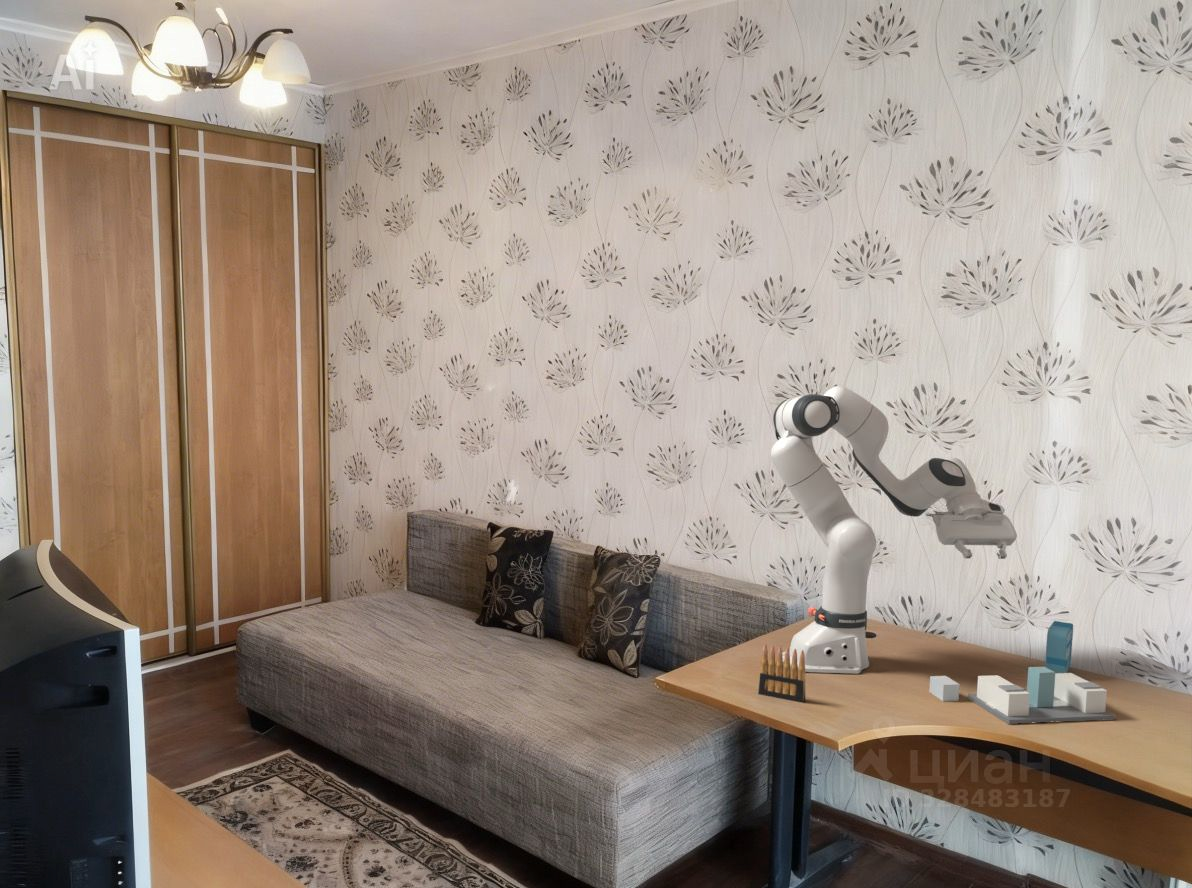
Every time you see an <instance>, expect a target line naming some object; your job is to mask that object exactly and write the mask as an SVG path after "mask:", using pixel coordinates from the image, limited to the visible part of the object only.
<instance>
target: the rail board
mask: <svg viewBox="0 0 1192 888" xmlns="http://www.w3.org/2000/svg"><path fill="white" fill-rule="evenodd" d="M967 699H968V700H970V701H971V702H973V703H974V704H976V705H978V706H979V707H980V708H983V710H985V711H987V712H988V713H990V714H992V715H993V716H995V717H996V716H997V717H996V718H998V719H1000V720H1001V721H1002V722H1004V721H1005V722H1004V723H1006V724H1007V723H1008V724H1007V725H1019V724H1018V723H1030V724H1033V723H1032V722H1051V721H1055V722H1054V723H1057V722H1056V721H1077V722H1087V721H1086V720H1100V721H1104V720H1103V719H1108V720H1107V721H1110V720H1109V719H1115V720H1116V714H1113V713H1112V712H1110V711H1108V710H1107V709H1105V712H1100V713H1084V712H1082V711H1080V710H1079V709H1077V708H1075V707H1073V706H1072V705H1070V704H1069V703H1067V702H1065V701H1063V700H1060V699H1058V698H1057V697H1055V696H1054V701H1053V707H1036V706H1034V705H1032V704H1030V703H1029V714H1028V716H1006V715H1005V714H1003V713H1002V712H1000V711H998V710H997V709H996V708H994V707H993V706H991V705H990V704H988V703H986V702H984V701H982V700H981V699H979V698H978V697H977V693H967Z"/></svg>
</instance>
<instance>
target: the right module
mask: <svg viewBox="0 0 1192 888" xmlns="http://www.w3.org/2000/svg"><path fill="white" fill-rule="evenodd" d="M1107 693H1108V690H1107V689H1105V688H1102V686H1101V685H1098V684H1097V683H1095V682H1092V681H1089V680H1086V679H1085V678H1082V677H1080V676H1078V675H1076V674H1074V673H1072V672H1067V673H1055V687H1054V696H1055V697H1057V698H1058V699H1060V700H1063V701H1065V702H1067V703H1069V704H1070V705H1072V706H1073V707H1075V708H1077V709H1079V710H1080V711H1082V712H1084V713H1100V712H1105V710H1107V709H1106V708H1107V707H1106V705H1107Z"/></svg>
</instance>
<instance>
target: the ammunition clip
mask: <svg viewBox="0 0 1192 888" xmlns="http://www.w3.org/2000/svg"><path fill="white" fill-rule="evenodd" d="M768 651H769V650H768V646H767V644H766V643H764V645H763V648H762V655H761V661H760V673H759V682H758V691H757V693H758V695H761V696H766V697H772V698H777V699H780V700H781V699H782V700H786V701H787V700H788V701H792V702H797V703H804V702H805V701H806V672H805V655H804V651H803V650H802V651H801V654H800V661H799V667H798V665H797V651H796V649H794V651H793V655H792V664H791V667H790V652H789V651H790V647H786V649H785V651H784V652H785V659H784V662H783V658H782V657H783V655H782V652H783V649H782V646H779V647H778V650H777V653H776V650H775V646H774V644H772V645H771V648H770V651H769V656H768ZM776 654H777V656H776ZM768 657H769V659H768ZM776 657H777V658H776Z"/></svg>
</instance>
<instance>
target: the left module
mask: <svg viewBox="0 0 1192 888" xmlns="http://www.w3.org/2000/svg"><path fill="white" fill-rule="evenodd" d="M976 694H977V697H978V698H979V699H981V700H982V701H984V702H986V703H988V704H990V705H991V706H993V707H994V708H996V709H997V710H998V711H1000V712H1002V713H1003V714H1005V715H1006V716H1028V714H1029V699H1030V693H1028V692H1027V690H1025V688H1023V687H1022V686H1020V685H1017V684H1014V683H1012V682H1010V680H1009V681H1008V680H1007V679H1005V678H1003V677H1002V676H1000V675H978V676H977V689H976Z"/></svg>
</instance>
